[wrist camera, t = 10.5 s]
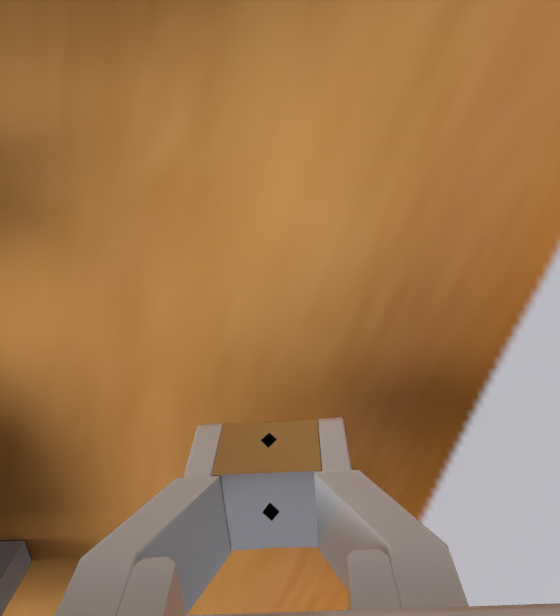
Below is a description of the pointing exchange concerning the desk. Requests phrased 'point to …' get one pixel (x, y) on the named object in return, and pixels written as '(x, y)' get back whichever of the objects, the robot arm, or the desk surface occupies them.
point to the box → (12, 569)
